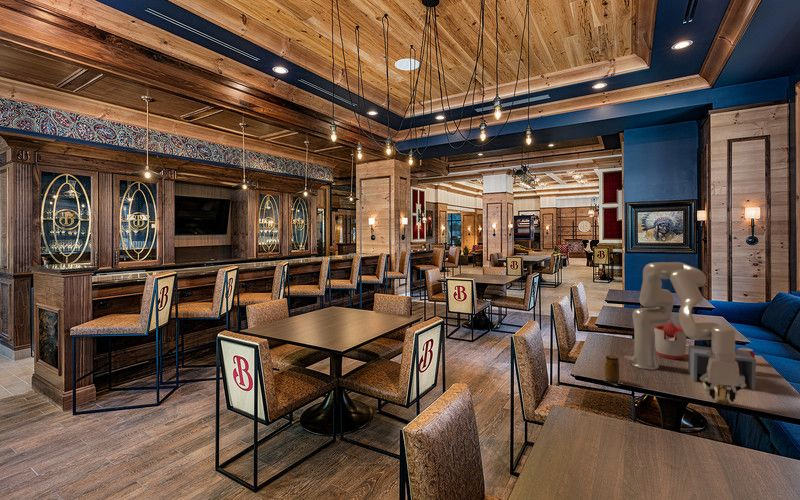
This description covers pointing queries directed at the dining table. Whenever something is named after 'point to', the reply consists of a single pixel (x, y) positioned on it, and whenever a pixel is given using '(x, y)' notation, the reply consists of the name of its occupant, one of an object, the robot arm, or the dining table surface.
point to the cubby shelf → (700, 357)
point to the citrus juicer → (670, 341)
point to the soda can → (747, 351)
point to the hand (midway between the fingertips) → (722, 398)
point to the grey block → (742, 377)
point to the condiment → (612, 369)
